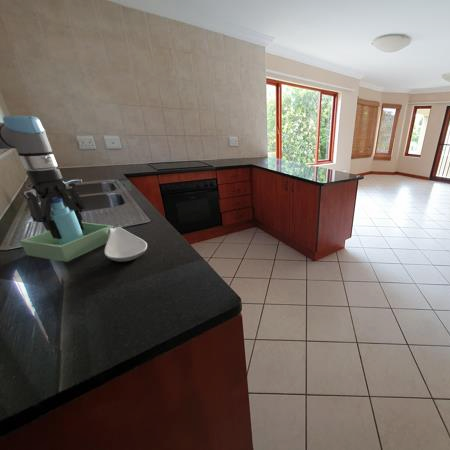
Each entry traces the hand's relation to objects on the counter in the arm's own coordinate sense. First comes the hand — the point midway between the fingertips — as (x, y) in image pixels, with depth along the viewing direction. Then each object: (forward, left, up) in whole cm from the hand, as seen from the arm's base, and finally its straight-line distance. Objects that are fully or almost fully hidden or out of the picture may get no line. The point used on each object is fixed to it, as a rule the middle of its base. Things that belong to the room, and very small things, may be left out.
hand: (69, 233), depth 85 cm
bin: (0, 0, -6) cm, 6 cm away
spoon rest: (+20, +2, -6) cm, 21 cm away
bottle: (0, 0, -5) cm, 5 cm away
